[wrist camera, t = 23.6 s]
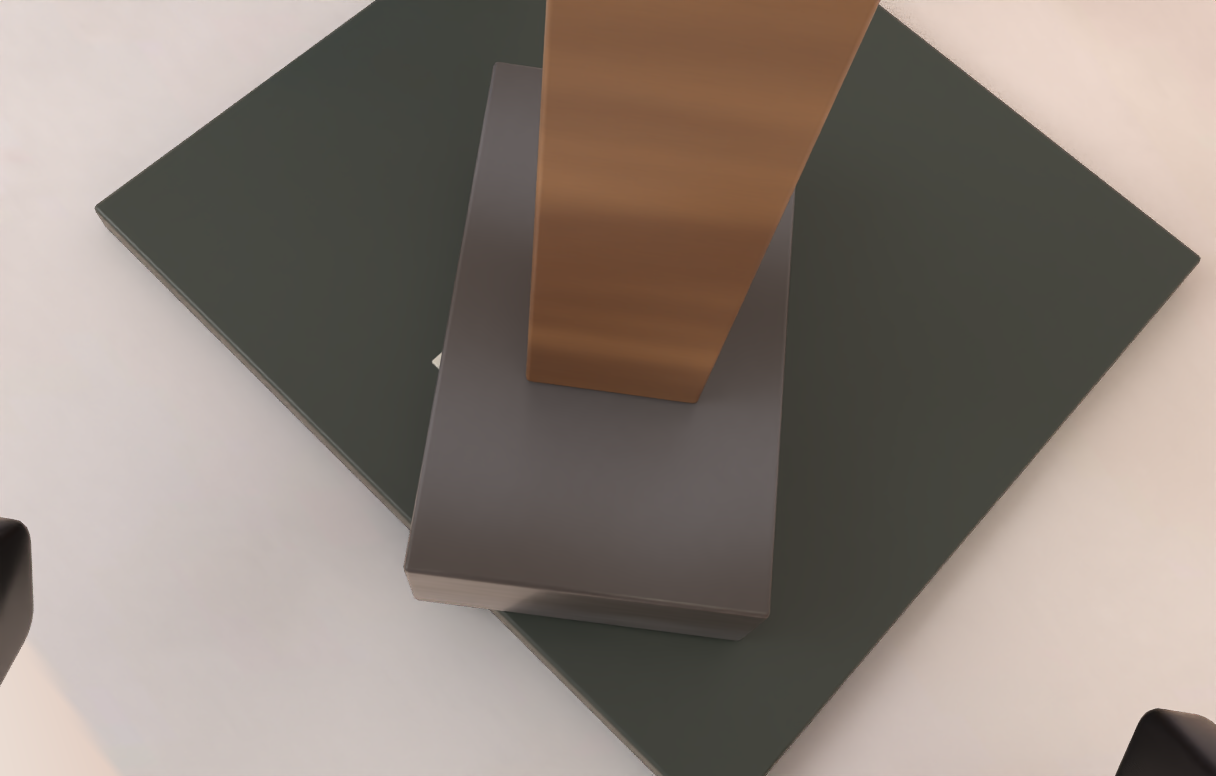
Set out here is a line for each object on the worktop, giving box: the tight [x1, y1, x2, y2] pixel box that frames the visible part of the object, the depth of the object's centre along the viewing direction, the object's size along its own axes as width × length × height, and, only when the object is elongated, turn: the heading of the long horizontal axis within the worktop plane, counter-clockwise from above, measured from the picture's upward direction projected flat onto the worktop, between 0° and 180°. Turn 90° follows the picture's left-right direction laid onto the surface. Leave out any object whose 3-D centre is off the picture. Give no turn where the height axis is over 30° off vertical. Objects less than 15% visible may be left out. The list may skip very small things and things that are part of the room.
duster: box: [404, 0, 880, 641], centre depth 16 cm, size 10×6×15 cm, turn 174°
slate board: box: [95, 0, 1200, 776], centre depth 24 cm, size 16×17×1 cm
